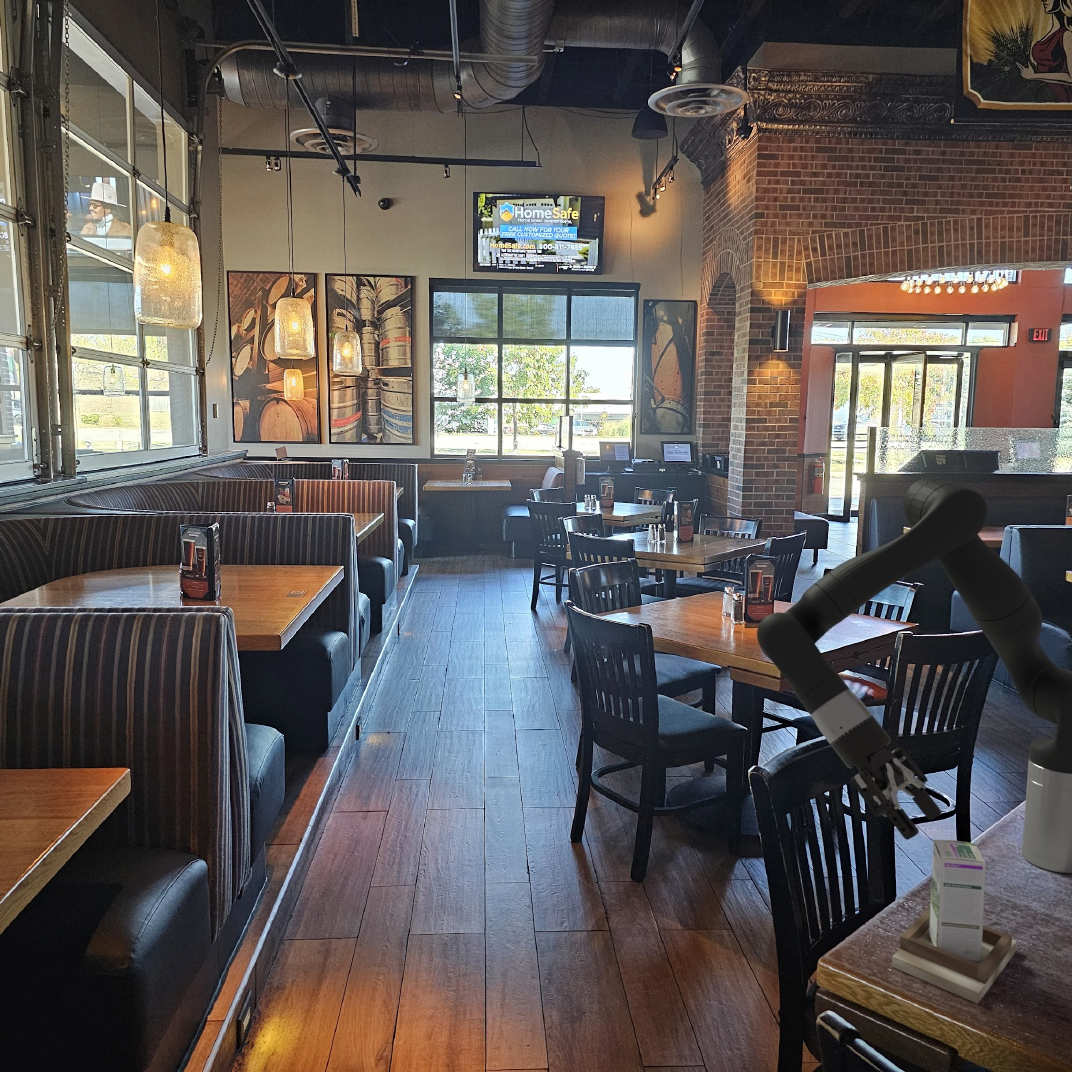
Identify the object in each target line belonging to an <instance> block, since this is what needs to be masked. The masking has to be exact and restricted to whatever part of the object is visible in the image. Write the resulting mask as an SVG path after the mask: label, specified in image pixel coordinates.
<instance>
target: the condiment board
mask: <svg viewBox="0 0 1072 1072" xmlns="http://www.w3.org/2000/svg"><path fill="white" fill-rule="evenodd" d="M929 920H930V906H929V907H928V908H926V910H925V911H923V912H922V913H921V915H920V916H919V917H918V918H916V920H915V921H914V922H913V923H912V924H910V926H909V927H908V928H907V929H906V930H905V931H904V932H903V933H902V934H901V935H900V939H899V940H900V941H899V949H898V950H897V951H896V952H895V953H893V955H892V957H891V959H892V960H891V967H892V968H894V969H896V970H899V971H901V972H903V973H907V974H908V975H910V976H913V977H915V978H917V979H920V980H922V981H924V982H926V983H928V984H932V985H934V986H936V987H938V988H940V989H943V990H945V991H947V992H950V993H952V994H954V995H957V996H959V997H961V998H963V999H966V1000H968V1001H970V1002H973V1003H975V1004H977V1005H978V1004H979V1003H980V1002H981V1000H982V999H983V998H984V996H985V995H986V994H987V992H988V991H989V989H990V988H991V986H992V985H993V983H994V982H995V981H996V979H997V978H998V977H999V975H1000V974H1001V973H1002V971H1003V969H1005V967H1006V965H1007V964H1008V963H1009V962H1010V960H1011V959H1012V957H1013V956H1014V954H1015V953H1016V952H1017V946H1018V943H1017V942H1018V940H1015V939H1013V936H1012V935H1010V934H1008V933H1005V932H1001V931H999V930H996V929H994V928H991V927H988V926H986V925H983V934H982V949H981V961H980V963H979V962H973V961H970V960H968V959H965V958H963V957H960V956H958V955H955V954H953V953H951V952H948V951H946V950H943V949H941V948H938V947H936V946H933V944H932V941H931V939H930V936H929Z"/></svg>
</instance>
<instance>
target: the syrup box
mask: <svg viewBox="0 0 1072 1072" xmlns="http://www.w3.org/2000/svg"><path fill="white" fill-rule="evenodd" d="M932 843H933V844H932V861H931V863H932V864H931V881H930V882H931V883H930V884H931V885H930V904H929V907H930V920H929V936H930V939H931V941H932V944H933V946H936V947H938V948H941V949H943V950H946V951H948V952H951V953H953V954H955V955H958V956H960V957H963V958H965V959H968V960H970V961H973V962H979V963H980V961H981V949H982V934H983V926H984V912H985V911H984V909H985V892H986V891H985V888H986V868H987V864H986V861H985V859H984V857H983V856H982V853H981V851H980V850H979V848H978V846H977V844H975V843H972V842H967V841H960V840H955V839H954V840H952V839H949V840H948V839H933V842H932Z"/></svg>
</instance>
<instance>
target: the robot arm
mask: <svg viewBox="0 0 1072 1072" xmlns="http://www.w3.org/2000/svg"><path fill="white" fill-rule="evenodd" d="M902 504H903V505H902V507H903V508H902V509H903V514H904V518H905V520H906V522H907V524H908V526H909V527H910V529H909V530H907V531H906V532H904V533H903V534H902V535H900V536H899V537H897V538H894V539H893V540H892V541H889V542H887V543H885V544H883V545H882V546H879V547H876V548H874V549H872V550H869V551H867V552H864V553H861V554H859V555H856V556H854V557H851V558H850V559H848V560H846V561H843V562H842V563H840V564H839V565H837V566H835V567H834V568H832V569H831V570H830V571H829V572H828V573H826V574H825V575H823V577H821V578H819V580H817V581H816V582H815V583H814V584H812V585H811V586H809V588H807V590H805V591H804V592H803V594H802V596H801V598H800V599H799V600H798V601H797V602H796V603H795V604H793V605H792V606H790V607H789V608H788V609H787V610H785V612H772V613H769V614H768V615H766V616H764V617H763V619H762V620H761V621H760V622H759V624H758V626H757V630H756V638H757V642H758V646H759V647H760V649H761V652H762V653H763V654H764V655H765V656H766V657H767V658H768V659H769V660H770V661H771V662H772V663H773V665H774V666H775V667H776V668H777V669H778V671H779V672H780V673H781V675H783V677H784V678H785V679H786V680H787V682H788V683H789V684H790V686H791V689H792V691H793V693H794V695H795V696H796V697H797V700H799V702H800V703H801V704H802V706H803V707H804V708H805V709H806V711H807V712H808V714H809V715H810V716H811V718H812V719H813V721H814V723H815V725H816V726H817V728H818V729H819V731H820V732H821V734H822V735H823V736H824V738H825V739H826V741H827V742H828V743H829V745H830V746H831V747H832V748H833V750H834V751H835V753H836V755H837V756H838V757H839V758H840V759H841V761H842V762H843V763H844V765H845V766H846V768H848V769H853V768H855V767H856V768H857V769H858V770H859V772H858V773H857V774H855V775H854V776H853V777H851V778H850V782H851V784H852V785H853V787H854V788H855V789H856V790H857V793H858V794H859V795H860V796H861V798H862V799H863V800H864V802H865V804H866V805H867V806H868V808H869V809H870V810H871V813H873V815H874V816H875V817H876V818H877V817H880V816H883V817H886V818H888V819H889V820H890V821H891V823H892V825H893V826H894V827H895V828H896V830H897V831H898V832H899V834H901V837H903V838H904V839H905V840H907V841H908V840H910V839H912V838H913V837H915V836H917V835H918V834H920V833H919V832H920V831H919V828H918V827H917V826H916V824H915V823H914V822H913V820H912V819H911V818H910V817H909V815H908V814H907V812H906V811H905V810H904V809H903V808H902V807H901V804H900V802H899V799H898V794H899V791H903V792H904V793H906V794H907V795H908V796H910V797H912V798H911V799H912V801H913V802H914V803H915V805H916V806H917V807H918V808H919V809H920V811H921V812H922V814H923V815H924V816H925V818H926V819H927V820H929V821H933V820H934V819H936V818H937V817H939V816H940V815H942V810H941V809H940V807H939V805H938V804H937V803H936V802H935V801H934V800H933V798H932V797H931V796H930V794H929V793H928V792H927V791H926V788H927V786H926V783H927V782H928V777H927V776H926V775H925V773H924V772H923V771H922V770H921V768H919V766H918V765H917V764H916V763H915V762H914V760H913V759H912V758H911V757H910V756H909V754H908V753H907V752H906V751H905V750H904V749H903V748H902V747H901V746H899V747H897V748H896V749H895V748H894V750H892V751H891V750H890V749H889V748H887V746H888V745H889V744H890V743H891V742H892V739H891V737H890V736H889V734H888V733H887V732H886V730H885V729H884V728H883V726H882V725H881V724H880V723H879V722H878V720H877V719H876V718H875V716H874V715H873V714H872V712H871V711H870V710H869V709H868V707H867V706H866V705H865V704H864V702H863V701H862V700H861V698H860V697H858V696H857V695H856V694H855V693H854V692H853V690H851V689H850V687H849V686H848V684H847V683H846V682H845V681H844V680H843V678H842V677H841V676H840V674H839V673H838V672H837V671H836V670H835V668H833V666H831V664H830V663H829V662H828V661H827V660H826V658H825V657H824V656H823V654H822V653H821V651H820V649H819V648H818V646H817V645H816V644H817V643H818V642H819V640H820V639H822V638H823V637H824V636H825V635H826V633H828V632H829V631H830V630H831V629H833V628H834V627H835V626H837V625H838V624H840V623H841V622H843V621H844V620H845V619H847V618H848V617H849V616H851V615H852V614H853V613H854V612H856V611H857V610H859V609H860V608H862V607H863V606H864V605H865V604H866V603H867V602H869V601H870V600H872V599H874V598H875V597H876V596H877V595H879V594H880V593H881V592H883V591H884V590H886V589H887V588H889V587H891V586H892V585H893V584H895V583H897V582H899V581H900V580H903V579H904V578H905V577H907V576H909V575H910V574H912V573H914V572H916V571H918V570H920V569H921V568H923V567H925V566H927V565H929V564H930V563H932V562H934V561H936V560H938V562H939V564H940V565H941V567H942V568H943V569H944V571H945V573H946V575H947V578H948V579H949V580H950V582H951V583H952V585H953V588H955V590H956V592H957V593H958V595H959V596H960V598H961V599H962V601H963V602H964V604H965V606H966V608H967V609H968V612H969V613H970V614H971V617H972V618H973V619H974V621H975V622H976V624H977V626H978V627H979V629H980V630H981V631H982V633H983V634H984V635H985V636H986V638H987V640H988V641H989V643H990V644H991V646H992V648H993V650H994V651H995V652H996V654H997V656H998V657H999V658H1000V660H1001V662H1002V663H1003V665H1004V666H1005V668H1006V670H1007V673H1008V674H1009V676H1010V678H1011V680H1012V683H1013V685H1014V687H1015V690H1016V692H1017V694H1018V695H1019V697H1020V700H1021V701H1022V703H1023V705H1024V706H1025V707H1026V709H1027V710H1028V711H1029V713H1030V712H1031V713H1032V714H1033V715H1034V716H1036V717H1038V718H1040V719H1043V720H1045V721H1047V722H1050V723H1052V724H1056V725H1057V727H1056V732H1055V737H1054V738H1049V737H1048V738H1039V739H1036V740H1034V741H1033V742H1031V744H1030V746H1029V753H1028V754H1029V755H1028V765H1027V766H1028V767H1027V777H1026V778H1027V779H1026V781H1027V782H1026V790H1025V792H1026V793H1025V805H1024V818H1023V831H1022V832H1023V833H1022V843H1021V844H1022V845H1021V856H1022V857H1023V858H1024V860H1026V861H1027V862H1029V863H1031V864H1033V865H1034V866H1037V867H1039V868H1041V869H1043V870H1047V871H1051V872H1056V873H1063V874H1072V670H1068V669H1065V668H1062V667H1059V666H1058V665H1056V664H1055V663H1054V662H1053V661H1052V660H1051V659H1050V658H1049V656H1048V655H1047V654H1046V652H1045V651H1044V649H1043V647H1042V646H1041V644H1040V642H1039V641H1040V635H1041V632H1042V626H1043V613H1042V611H1041V608H1040V606H1039V604H1038V602H1037V600H1036V599H1035V597H1034V596H1033V594H1032V593H1031V590H1030V589H1029V588H1028V586H1027V585H1026V583H1025V582H1024V581H1023V579H1022V578H1021V576H1019V574H1018V573H1017V572H1016V571H1015V570H1014V569H1013V568H1012V567H1011V566H1010V565H1009V564H1008V563H1007V562H1006V561H1005V560H1004V559H1003V558H1002V557H1001V556H1000V555H999V554H998V553H996V552H995V551H994V550H993V549H992V548H991V547H990V546H989V545H988V544H986V542H985V541H984V540H983V539H982V537H980V535H979V533H981V531H982V530H983V528H984V526H985V525H986V522H987V520H988V515H989V508H988V504H987V502H986V499H985V498H984V497H983V496H982V495H981V494H980V493H979V492H978V491H976V490H974V489H972V488H970V487H968V486H966V485H963V484H961V483H957V482H954V481H953V480H950V479H947V478H942V477H935V476H934V477H933V476H932V477H931V476H929V477H924V478H921V479H918V480H917V481H915V482H913V483H912V484H911V485H910V486H909V487H908V489H907V490H906V493H905V495H904V497H903V503H902ZM876 802H877V803H878V805H877V804H876Z"/></svg>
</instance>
